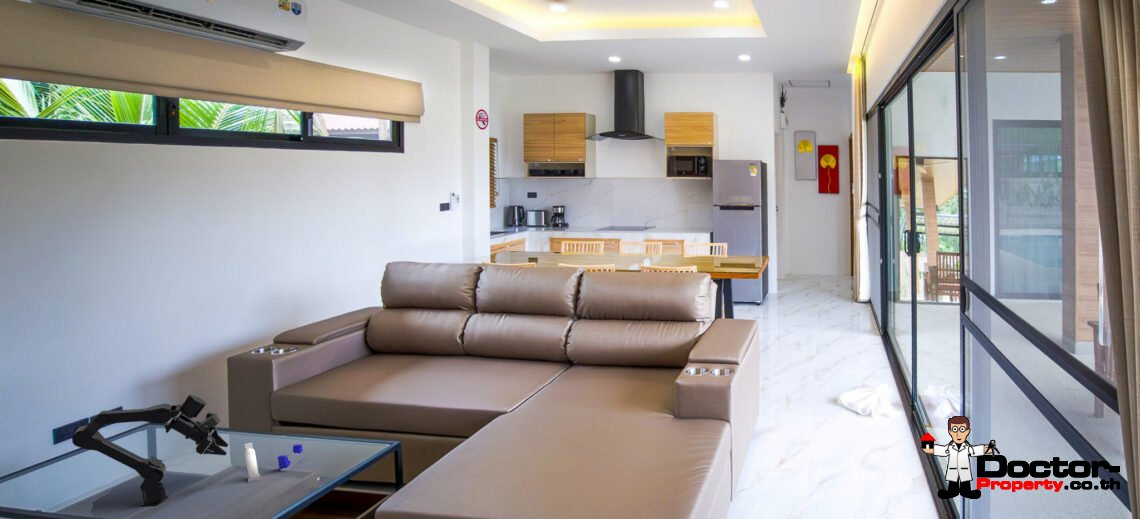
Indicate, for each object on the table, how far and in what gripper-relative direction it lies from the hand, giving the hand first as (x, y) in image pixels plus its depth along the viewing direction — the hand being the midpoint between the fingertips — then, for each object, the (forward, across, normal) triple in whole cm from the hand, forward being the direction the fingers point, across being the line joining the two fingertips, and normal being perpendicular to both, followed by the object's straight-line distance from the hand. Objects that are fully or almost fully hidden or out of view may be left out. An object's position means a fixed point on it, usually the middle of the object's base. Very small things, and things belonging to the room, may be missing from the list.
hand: (226, 450), depth 283 cm
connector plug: (+15, 0, +4) cm, 15 cm away
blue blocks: (+24, +7, -5) cm, 25 cm away
